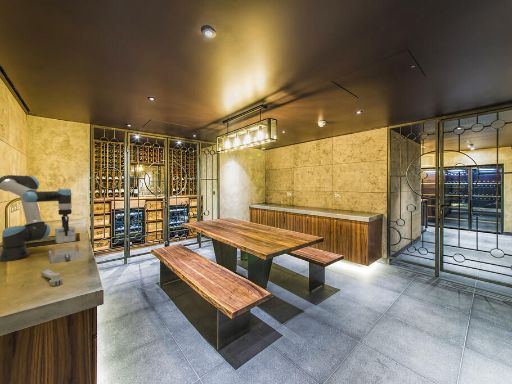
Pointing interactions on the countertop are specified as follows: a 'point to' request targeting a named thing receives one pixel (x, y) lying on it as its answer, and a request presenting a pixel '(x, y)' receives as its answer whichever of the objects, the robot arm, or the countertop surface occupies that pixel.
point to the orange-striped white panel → (65, 254)
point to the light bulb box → (60, 234)
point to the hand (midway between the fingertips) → (65, 239)
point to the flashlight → (52, 277)
